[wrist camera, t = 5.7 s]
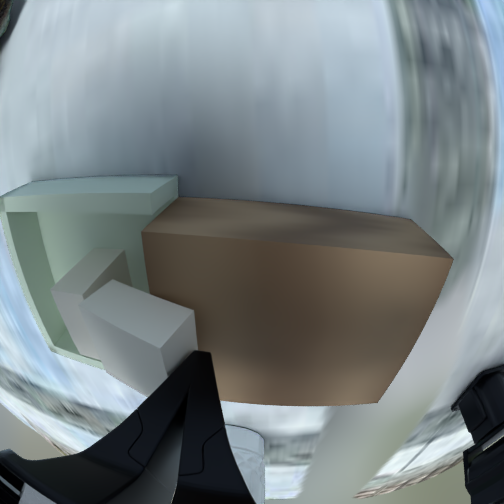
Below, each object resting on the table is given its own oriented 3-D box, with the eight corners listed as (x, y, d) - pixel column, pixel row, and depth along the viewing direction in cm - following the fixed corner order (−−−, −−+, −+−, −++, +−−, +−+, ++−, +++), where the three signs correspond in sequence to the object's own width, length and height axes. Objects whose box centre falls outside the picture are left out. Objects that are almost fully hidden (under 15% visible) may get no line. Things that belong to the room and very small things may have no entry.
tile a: (193, 310, 9) (159, 348, 7) (201, 379, 11) (178, 413, 9) (112, 279, 10) (78, 304, 8) (131, 346, 12) (106, 372, 10)
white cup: (188, 415, 21) (165, 511, 12) (275, 425, 21) (271, 525, 12) (194, 444, 24) (179, 518, 16) (264, 453, 24) (259, 528, 15)
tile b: (82, 295, 9) (50, 289, 9) (110, 362, 11) (80, 354, 11) (124, 249, 13) (93, 248, 13) (139, 312, 14) (111, 308, 15)
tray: (178, 175, 11) (150, 193, 9) (191, 351, 16) (180, 388, 14) (31, 181, 12) (-4, 198, 9) (70, 325, 17) (50, 351, 14)
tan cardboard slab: (411, 219, 11) (453, 259, 8) (363, 352, 16) (377, 402, 12) (178, 196, 12) (141, 231, 8) (189, 341, 16) (173, 392, 12)
